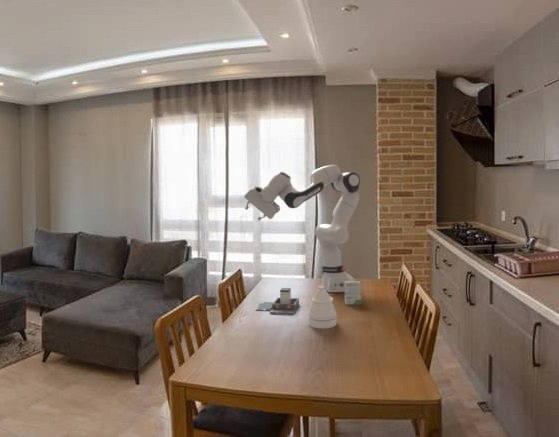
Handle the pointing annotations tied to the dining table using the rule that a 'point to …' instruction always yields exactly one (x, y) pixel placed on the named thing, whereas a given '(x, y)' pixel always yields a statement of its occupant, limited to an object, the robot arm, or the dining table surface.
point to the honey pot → (322, 310)
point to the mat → (265, 305)
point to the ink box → (353, 292)
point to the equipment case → (285, 306)
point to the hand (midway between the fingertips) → (252, 214)
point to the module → (285, 296)
